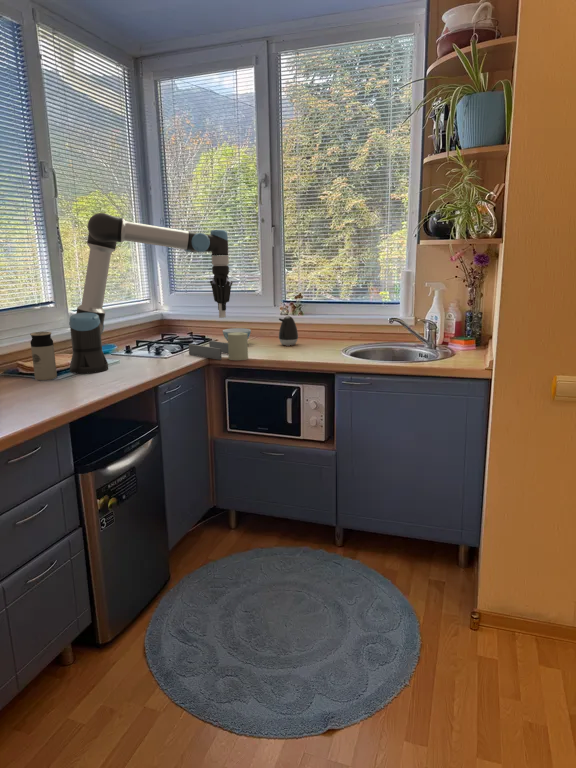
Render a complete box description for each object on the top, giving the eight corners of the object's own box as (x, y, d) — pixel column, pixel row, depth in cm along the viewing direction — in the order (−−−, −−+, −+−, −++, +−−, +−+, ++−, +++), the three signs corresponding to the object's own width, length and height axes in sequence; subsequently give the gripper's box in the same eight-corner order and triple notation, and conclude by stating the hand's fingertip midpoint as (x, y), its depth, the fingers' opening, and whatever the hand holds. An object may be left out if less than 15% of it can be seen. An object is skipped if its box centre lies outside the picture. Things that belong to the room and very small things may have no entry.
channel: (220, 359, 245) (219, 349, 243) (189, 354, 259) (188, 344, 257) (242, 355, 255) (241, 345, 254) (211, 350, 269) (210, 340, 268)
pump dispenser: (275, 344, 285) (274, 315, 281) (293, 342, 289) (292, 314, 286) (283, 347, 276) (282, 317, 272) (301, 345, 280) (301, 316, 277)
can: (239, 361, 241) (238, 334, 238) (224, 359, 246) (223, 333, 244) (252, 357, 249) (251, 332, 246) (237, 356, 254) (236, 330, 251)
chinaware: (253, 342, 293) (253, 328, 291) (248, 347, 278) (248, 332, 276) (226, 342, 294) (225, 328, 292) (220, 346, 280) (219, 332, 278)
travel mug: (50, 375, 217) (45, 330, 212) (61, 378, 212) (55, 332, 207) (31, 378, 211) (25, 333, 206) (41, 381, 206) (35, 335, 202)
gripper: (236, 265, 242) (238, 317, 247) (216, 265, 250) (218, 315, 255) (224, 265, 236) (226, 319, 242) (204, 265, 244) (206, 317, 250)
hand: (222, 317), depth 249 cm, fingers closed
